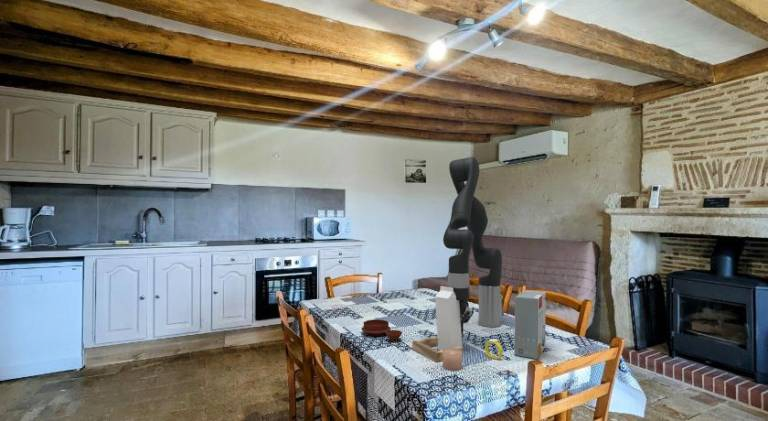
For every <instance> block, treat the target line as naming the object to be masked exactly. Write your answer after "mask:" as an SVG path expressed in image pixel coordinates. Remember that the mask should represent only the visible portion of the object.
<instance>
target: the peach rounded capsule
mask: <svg viewBox="0 0 768 421" xmlns="http://www.w3.org/2000/svg"><path fill="white" fill-rule="evenodd" d="M442 368H443V369H444V370H447V371H453V372H455V371H461V370H462V369H463V357H462V351H461V350H460V349H457V348H445V349H443V361H442Z"/></svg>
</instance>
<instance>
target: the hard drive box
mask: <svg viewBox="0 0 768 421" xmlns="http://www.w3.org/2000/svg"><path fill="white" fill-rule="evenodd" d="M546 295H547V294H546V292H545V291H536V290H529V289H528V290H527V289H525V290H523V291H522V292H520V293H519V294H517V295H516V296H515V297H514V340H513V341H514V345H513V346H514V347H513V349H514V352H513V353H514V356H520V357H524V358H529V359H534V360H538V358H540V356H541V354H542V352H544V350H545V348H546V311H547V310H546V309H547V307H546V305H547V304H546Z"/></svg>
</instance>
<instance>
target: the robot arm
mask: <svg viewBox="0 0 768 421" xmlns="http://www.w3.org/2000/svg"><path fill="white" fill-rule="evenodd" d="M448 167H449V168H448V169H449V174H450V178H451V181H452V184H453V186H454V189H455V191H456V194H457V196H456V198H455V199H454V200H453V203H452V206H451V214H450V215H451V217H450V220H449V223H448V225H447V227H446V229H445V232H444V234H443V237H442V241H443V242H442V243H443V244H444V247H446V248H447V249H448V250H462V252H461V253H460V254H456V255H451V256H450V257H449V258H448V277H447V278H448V279H447V287H451V288H453V292H454V293H456V294H455V295H456V300H459V304H460V320H461V321H460V322H461V335H463V334H464V324H467V323H468V322H469V321H470V319H471V318H472V317H473V315H474V313H475V312H474V310H471V309H470V308H469V307H470V306H469V302H468V301H469V300H470V298H471V297H470V294H471V293H470V292H471V291H470V274H469V272H470V269H469V266H470V265H469V263H470V262H469V261H470V255H471V250H472V254H473V255H472V256H473V260H474V263H475V265H476V267H477V268H480V269H482V270H483V269H486V270H489V272H488V274H487V275H483V276H481V277H479V278H478V325H480V326H481V327H482V326H483V327H486V328H497V327H498V328H499V327H501V325H503V303H502V301H501V281H502V268H503V255H502V251H501V250H500V249H499V248H496V247H495V248H494V247H485V246H484V244H483V236H484V234H485V232H486V229H487V227H488V224H489V219H488V215H487V212H486V211H487V210H486V207H485V206H484V205H485V204H483V203H482V201H480V199H479V198H477V197H476V196H475V193H476V189H477V186H478V181H479V177H480V165H479V161H478V160H477V158H476V157H473V156H469V157H463V158H459V159H454V160H451V161H450V162H449V165H448ZM465 228H466V229H465Z"/></svg>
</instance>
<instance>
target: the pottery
mask: <svg viewBox="0 0 768 421" xmlns="http://www.w3.org/2000/svg"><path fill="white" fill-rule="evenodd" d="M389 324H390V323H389V321H387V320H385V319H368V320H365V321H363V326H362V327H361V331H362V332H365V333H368V335H369V336H375V337H376V336H377V337H378V336H382V335H384V333H385V335H386V336H387V338H388V339H389V341H391V342H398V339H400V337H401V336H402V334H403V332H402V331H401V330H399V329H397V330H396V329H392V328H391V327H390V326H389Z"/></svg>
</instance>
